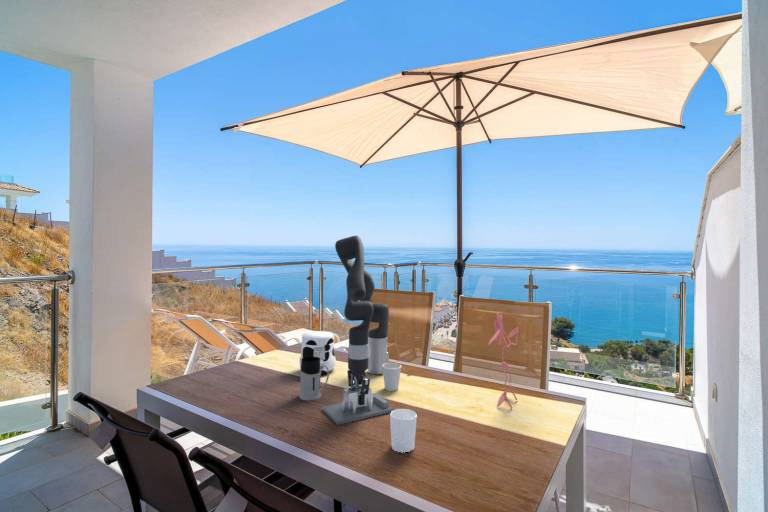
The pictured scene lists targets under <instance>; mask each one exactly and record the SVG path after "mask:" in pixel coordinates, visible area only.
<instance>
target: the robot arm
mask: <svg viewBox="0 0 768 512" xmlns="http://www.w3.org/2000/svg"><path fill="white" fill-rule="evenodd" d="M334 244H335V245H334V247H335V252H336V254H337V256H338V258H339V260H340V262H341V264H342V265H343V267H344V269H345V271H346V273H347V276H346V282H345V284H346V292H347V297H346V301H345V306H344V309H343V313H344V317H345V318H346V319H347V321H351V322H353V321H354V322H355V321H356V322H357V321H362V322H361V323H360V324H358V325H355V326H352V327H350V328H349V331H348V348H347V349H348V350H347V368H348V369H347V381H348V383H347V385H348V388H353V387H356V388H357V389H358V394H359V395H358V404H359V405H360V406H361V405H364V404H365V395H366V394H368V392H369V388H370V384H371V383H370V382H371V379H370V378H367V377H366V376H367V375H366V371H367V373H368V372H369V373H368V374H370V373H372V374H371V375H374V374H381V375H383V367H382V365H383V364H385V363H390V359H389V356H390V354H389V352H388V333H389V332H388V331H389V315H390V309H389V306H388V305H387V304H384V303H373V302H372V295H373V293H374V291H375V282H374V280H373V278H372V275H371V273H370V272H369V271H368V270H366V269H365V249H364V244H363V242H362V239H361V238H360V236H358V235H352V236H347V237H345V238H341V239H339V240H337V241H336V242H335V243H334ZM353 260H354V261H353ZM371 323H375V324H378V326H377V327H376V328H373V329H370V325H371ZM360 388H361V390H360ZM365 389H366V390H365Z"/></svg>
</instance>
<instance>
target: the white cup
mask: <svg viewBox="0 0 768 512" xmlns="http://www.w3.org/2000/svg"><path fill="white" fill-rule="evenodd" d="M389 416H390V417H389V418H390V419H389V423H390V424H389V425H390V426H389V427H390V439H391V449H392V450H393V451H394V452H396V451H397V452H396V453H399V452H401V454H406V453H405V452H409V453H411V452H412V451H411V450H413V451H414V449H415V445H416V444H415V441H416V432H417V413H416V411H414V410H412V409H408V408H396V409H394V410H393V411H392V412H391V413H389ZM410 451H411V452H410ZM403 452H404V453H403Z"/></svg>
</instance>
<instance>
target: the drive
mask: <svg viewBox="0 0 768 512" xmlns="http://www.w3.org/2000/svg"><path fill="white" fill-rule="evenodd" d="M360 390H361V388H360ZM365 390H366V389H365ZM372 392H373V390H372V388H370V387H369V392H368V394H366V395H365V404H364V405H361V406H360V405H359V404H358V395H359V394H358V389H357V388H356V387H353V388H351V387H348V388H344V389H343V401H345V406H346V407H347V408H348V409H352V408H353V403H356V408H357V407H362V406H367V405H370V400H372V394H373V393H372Z"/></svg>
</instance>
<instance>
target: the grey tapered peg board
mask: <svg viewBox="0 0 768 512" xmlns="http://www.w3.org/2000/svg"><path fill="white" fill-rule="evenodd" d="M321 410H322V412H323V413H324V414H326V416H328V417H329V419H331V420H332V422H333V423H335V424H336V426H340V425H345V424H349V423H353V422H352V421H354V422H357V420H358V421H362V420H366V419H365V418H367V419H370V418H369V417H371V418H374V417H373V416H375V417H379V416H382V414H384V415H387V414H386V413H388V414H390V412H392V411H393V410H395V409H394V408H393V407H392V406H390V405H389V401H388V400H386V399H385V398H383V397H381V396H380V395H379V394H377V393H376V392H375V393H372V400H370V405H367V406H362V407H357V408H356V403H353V408H352V409H348V408H347V407H346V406H345V401H344V400H342V401H341V403H336V404H331V405H326V406H322V409H321ZM378 415H379V416H378ZM361 419H362V420H361ZM344 423H345V424H344Z"/></svg>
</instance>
